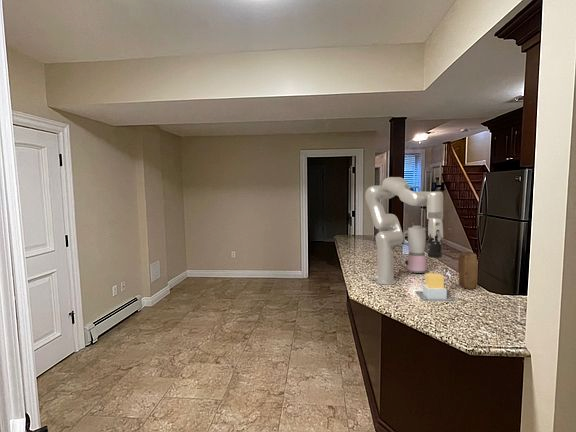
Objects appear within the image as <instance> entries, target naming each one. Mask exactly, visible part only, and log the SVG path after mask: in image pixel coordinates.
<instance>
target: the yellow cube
mask: <svg viewBox="0 0 576 432" xmlns="http://www.w3.org/2000/svg"><path fill="white" fill-rule="evenodd" d="M424 275H425V276H424V277H425V278H424V280H425V281H424V284H425V285H426V286H427V287H428V288H439V289H444V287H445V282H444V281H445V277H444V276H443V275H442V274H441V273H438V272H437V273H434V272H432V273H431V272H430V273H427V272H426V273H425V274H424Z"/></svg>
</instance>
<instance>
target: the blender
mask: <svg viewBox="0 0 576 432" xmlns="http://www.w3.org/2000/svg"><path fill="white" fill-rule="evenodd" d="M426 230H428V227H427V228H426V227H422V226H421V225H412V226H411V227H408V228H407V230H402V233H403V242H402V243H401V244H403V246H407V247H408V250H409V251H408V255H407V257H406V260H405V262H404V263H405V265H406V267H407V268H406V271H407V272H408V274H413V273H417V274H419V273H421V274H424V275H425V273H427V257H426V255H425V248H426V241H427V239H426V238H427V236H426V235H427V233H426ZM406 233H407V242H406Z"/></svg>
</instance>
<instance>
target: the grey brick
mask: <svg viewBox="0 0 576 432" xmlns="http://www.w3.org/2000/svg"><path fill="white" fill-rule="evenodd" d="M447 290H448V289H447V288H445V286H444V289H439V288H428V287H427V286H426V285H425V283H423V284H422V291H423V294H424V295H425V296H426V297H427V298H428V299H447V294H448V292H447Z"/></svg>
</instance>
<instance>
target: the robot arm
mask: <svg viewBox="0 0 576 432" xmlns="http://www.w3.org/2000/svg"><path fill="white" fill-rule="evenodd" d="M395 196H397V197H399V200H400V201H401V202H403V203H405V204H406V205H409V206H412V207H421V206H422V207H425V206H426V219H427V220H428V221H427V223H428V224H427V235H428V239H429V238H430V234H431V238H433V239H434V252H441V240H442V239H444V226H443V219H444V192H442V191H425V190H424V191H413V190H411V187H410V184H409V183H408V182H407V181H406V179H405V178H403V177H401V176H389V177H386V178H384V179H383V180H382V183H381V185H371V186H369V187H368V188H367V189H366V191H365V196H364V197H365V198H364V199H365V202H366V205H367V207H368V210H369V211H370V215H371V216H370V217H371V219H372V223H373V225H374V228H376V229H377V230H381V231H378V233H376V235H375V244H376V250H377V251H376V256H377V257H376V258H377V264H376V266H377V272H376V274H374V275H373V274H371V275H369V279H372V280H374V282H375V283H376V284H380V285H387V286H389V285H395V284H396V283H397V280H396V279H395V278H394V277H395V275H394V271H395V270H394V267H395V265H394V264H395V263H394V261H395V260H394V256H395V255H394V251H393V249H392V247H393V246H399V245H402V244H403V243H402V242H403V230H402V227H401V224H400V221H399V219H398V217H397V216H396V214H393V213H386V211H385V208H384V206H383V204H382V203H381V202H380V200H390V199H392V198H394V197H395ZM435 237H437V238H435Z"/></svg>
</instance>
